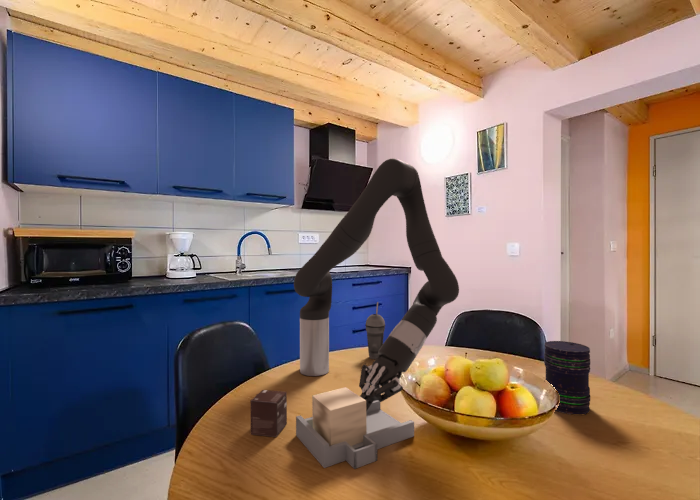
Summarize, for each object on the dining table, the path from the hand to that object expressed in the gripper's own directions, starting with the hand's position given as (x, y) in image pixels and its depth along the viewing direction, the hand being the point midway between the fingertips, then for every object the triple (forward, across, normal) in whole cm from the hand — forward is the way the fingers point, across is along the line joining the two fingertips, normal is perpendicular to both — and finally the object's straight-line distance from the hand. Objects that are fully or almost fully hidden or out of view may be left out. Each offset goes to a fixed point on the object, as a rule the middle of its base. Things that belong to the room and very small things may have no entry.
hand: (357, 412), depth 75 cm
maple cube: (+6, 0, 0) cm, 6 cm away
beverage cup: (-21, -42, +28) cm, 54 cm away
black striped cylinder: (-33, +15, +40) cm, 54 cm away
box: (+14, -12, -7) cm, 20 cm away
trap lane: (+4, 0, +3) cm, 5 cm away
